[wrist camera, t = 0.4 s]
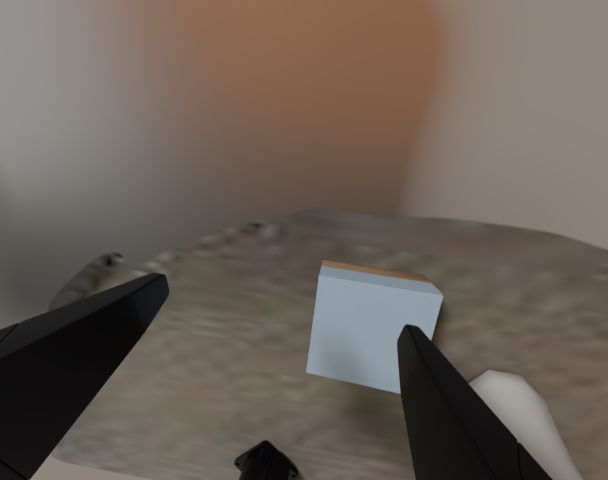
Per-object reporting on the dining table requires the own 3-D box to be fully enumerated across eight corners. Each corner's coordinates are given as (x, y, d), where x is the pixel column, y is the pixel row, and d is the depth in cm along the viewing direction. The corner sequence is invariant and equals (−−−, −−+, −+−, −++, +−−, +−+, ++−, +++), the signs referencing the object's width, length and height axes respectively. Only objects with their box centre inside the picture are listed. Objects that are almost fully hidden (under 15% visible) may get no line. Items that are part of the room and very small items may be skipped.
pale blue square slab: (408, 375, 23) (415, 397, 21) (309, 354, 24) (306, 372, 22) (431, 283, 21) (443, 295, 18) (321, 265, 22) (319, 275, 20)
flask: (553, 388, 23) (707, 533, 13) (510, 437, 25) (617, 595, 15) (483, 357, 23) (582, 474, 14) (445, 407, 25) (509, 542, 16)
